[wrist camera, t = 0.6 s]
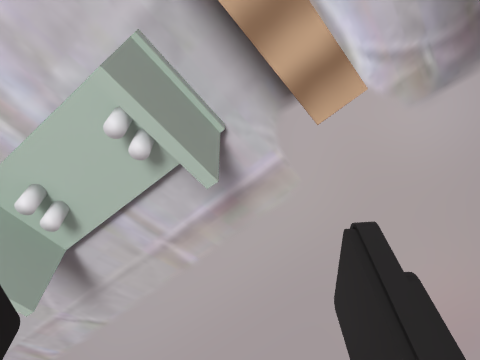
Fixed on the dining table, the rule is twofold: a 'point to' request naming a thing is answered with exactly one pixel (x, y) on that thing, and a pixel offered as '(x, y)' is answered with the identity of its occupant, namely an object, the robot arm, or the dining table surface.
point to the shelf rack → (98, 161)
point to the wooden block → (299, 52)
